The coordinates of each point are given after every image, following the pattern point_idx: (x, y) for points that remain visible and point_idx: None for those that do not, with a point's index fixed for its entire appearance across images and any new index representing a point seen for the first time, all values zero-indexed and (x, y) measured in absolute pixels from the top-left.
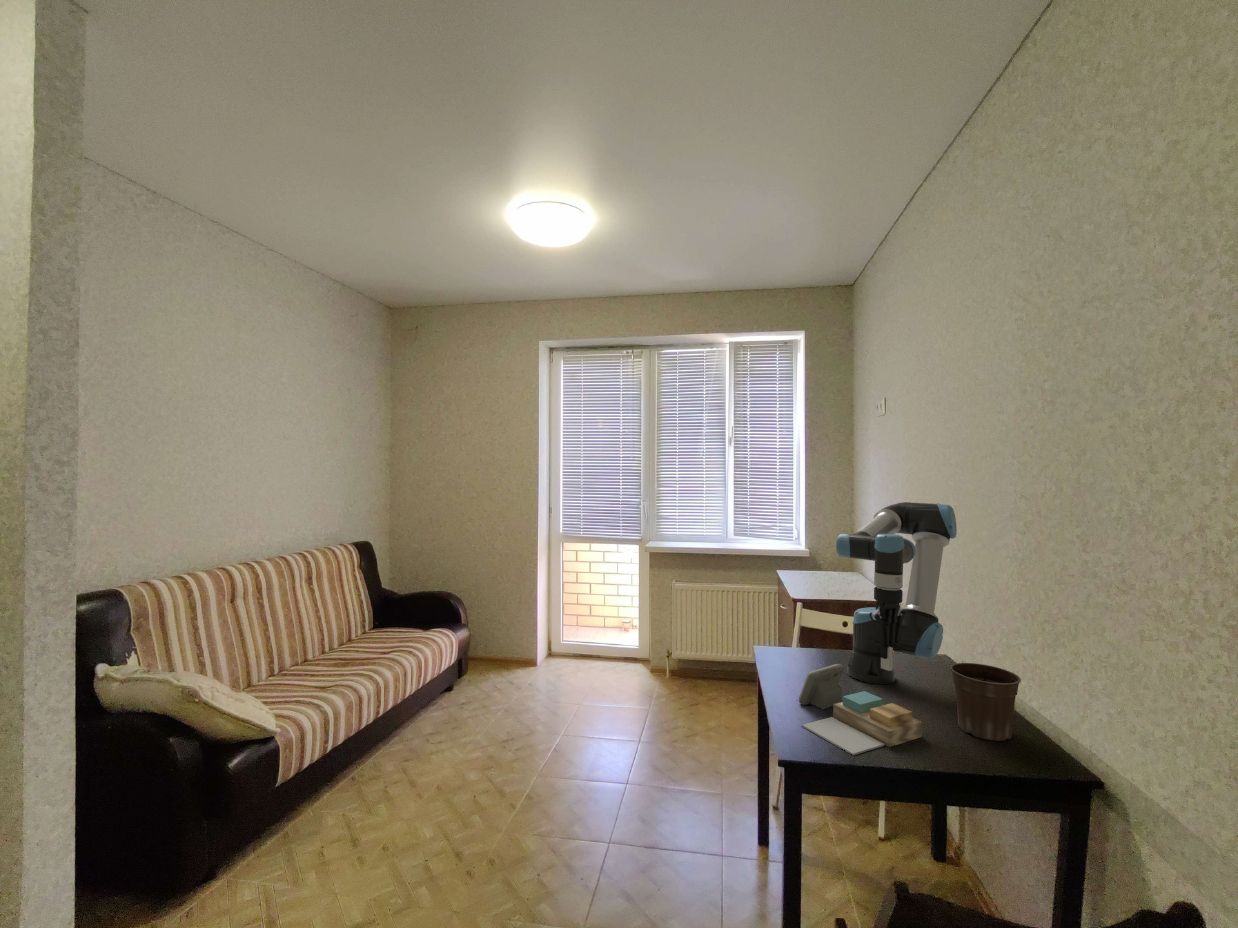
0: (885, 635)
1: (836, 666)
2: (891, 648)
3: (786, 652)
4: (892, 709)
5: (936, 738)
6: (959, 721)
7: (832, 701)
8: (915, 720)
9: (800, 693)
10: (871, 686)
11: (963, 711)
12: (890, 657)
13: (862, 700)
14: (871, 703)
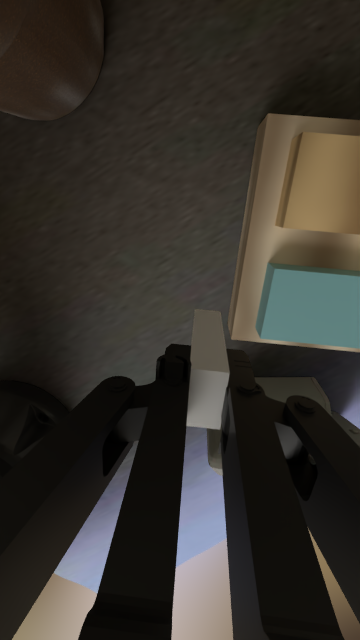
0: (281, 472)
1: None
2: (205, 367)
3: (95, 570)
4: (345, 189)
5: (227, 93)
6: (83, 86)
7: (280, 383)
8: (276, 135)
9: None
10: (75, 394)
11: (81, 28)
12: (212, 338)
13: (350, 296)
14: (332, 272)
